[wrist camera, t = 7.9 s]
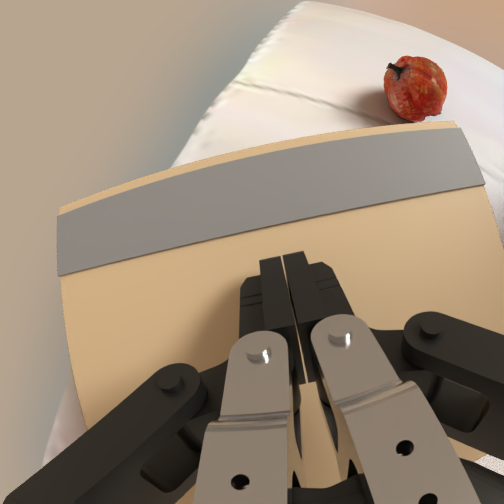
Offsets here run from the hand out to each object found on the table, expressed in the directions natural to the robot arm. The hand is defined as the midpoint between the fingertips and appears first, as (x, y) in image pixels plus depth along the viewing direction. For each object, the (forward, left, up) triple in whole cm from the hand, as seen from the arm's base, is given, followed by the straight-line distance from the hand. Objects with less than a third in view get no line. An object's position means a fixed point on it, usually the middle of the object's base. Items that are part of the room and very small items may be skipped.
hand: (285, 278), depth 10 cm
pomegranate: (-26, -3, -13) cm, 29 cm away
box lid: (+1, +2, -2) cm, 3 cm away
